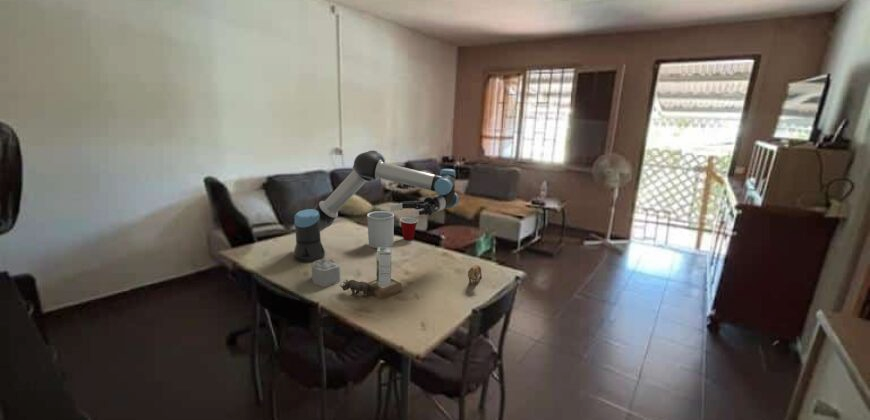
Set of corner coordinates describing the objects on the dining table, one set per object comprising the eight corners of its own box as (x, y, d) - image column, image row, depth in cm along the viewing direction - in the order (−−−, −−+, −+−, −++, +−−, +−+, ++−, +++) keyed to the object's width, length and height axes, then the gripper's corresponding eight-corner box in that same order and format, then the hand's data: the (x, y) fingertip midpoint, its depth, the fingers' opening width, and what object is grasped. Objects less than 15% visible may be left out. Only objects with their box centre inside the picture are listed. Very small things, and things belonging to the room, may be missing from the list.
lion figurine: (478, 289, 161) (479, 269, 159) (466, 288, 162) (467, 268, 160) (482, 275, 175) (483, 257, 173) (471, 274, 176) (471, 256, 174)
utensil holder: (392, 249, 207) (392, 218, 203) (365, 248, 207) (364, 217, 203) (395, 240, 222) (395, 211, 217) (370, 240, 222) (369, 210, 217)
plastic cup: (415, 242, 219) (415, 222, 216) (397, 241, 221) (397, 221, 218) (420, 237, 229) (420, 217, 226) (402, 235, 231) (402, 216, 228)
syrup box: (377, 279, 159) (376, 246, 155) (391, 279, 159) (391, 246, 156) (376, 285, 153) (375, 251, 150) (391, 285, 154) (391, 251, 150)
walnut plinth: (366, 291, 157) (366, 282, 156) (385, 284, 164) (385, 275, 163) (382, 299, 150) (382, 290, 149) (401, 291, 158) (401, 282, 157)
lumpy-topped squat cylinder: (322, 287, 160) (321, 268, 158) (307, 278, 168) (305, 260, 166) (343, 280, 167) (343, 262, 165) (328, 272, 176) (327, 254, 174)
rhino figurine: (343, 289, 159) (342, 275, 158) (372, 294, 155) (372, 280, 153) (337, 293, 155) (337, 279, 154) (368, 299, 151) (367, 285, 149)
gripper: (454, 216, 175) (422, 225, 160) (415, 207, 191) (382, 214, 176) (454, 200, 173) (422, 207, 158) (415, 192, 189) (382, 198, 174)
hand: (401, 211), depth 167 cm, fingers open, 13 cm apart
